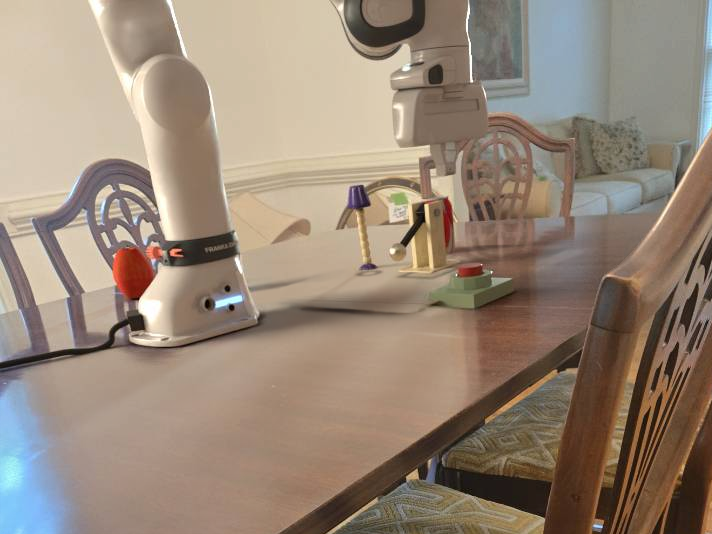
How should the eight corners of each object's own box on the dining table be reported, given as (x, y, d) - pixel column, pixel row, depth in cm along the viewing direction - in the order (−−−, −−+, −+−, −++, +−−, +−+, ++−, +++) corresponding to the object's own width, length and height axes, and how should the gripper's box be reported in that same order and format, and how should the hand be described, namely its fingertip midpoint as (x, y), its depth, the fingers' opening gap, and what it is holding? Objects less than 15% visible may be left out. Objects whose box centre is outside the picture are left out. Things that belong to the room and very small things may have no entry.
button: (474, 279, 124) (473, 268, 124) (453, 278, 127) (453, 267, 126) (487, 274, 127) (487, 263, 126) (467, 273, 129) (466, 262, 128)
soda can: (421, 261, 165) (415, 200, 159) (425, 255, 171) (420, 197, 165) (453, 258, 163) (449, 197, 157) (457, 253, 169) (453, 193, 163)
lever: (403, 265, 144) (397, 251, 142) (390, 264, 146) (383, 251, 143) (438, 214, 148) (432, 200, 146) (425, 215, 150) (419, 200, 148)
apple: (129, 304, 157) (114, 248, 151) (113, 300, 162) (98, 246, 157) (166, 295, 161) (152, 241, 156) (149, 291, 167) (136, 239, 161)
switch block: (474, 308, 122) (473, 283, 120) (429, 305, 127) (427, 280, 125) (513, 291, 130) (513, 267, 128) (469, 289, 135) (468, 265, 133)
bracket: (431, 278, 148) (425, 206, 141) (399, 276, 152) (392, 207, 146) (461, 267, 154) (456, 198, 148) (429, 266, 159) (423, 199, 152)
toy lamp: (353, 276, 158) (341, 187, 150) (361, 271, 162) (349, 184, 154) (375, 274, 157) (364, 185, 148) (382, 270, 160) (372, 182, 152)
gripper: (463, 73, 123) (467, 169, 129) (381, 76, 109) (390, 183, 116) (497, 69, 119) (499, 168, 126) (416, 72, 105) (423, 182, 112)
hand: (446, 175), depth 121 cm, fingers closed
